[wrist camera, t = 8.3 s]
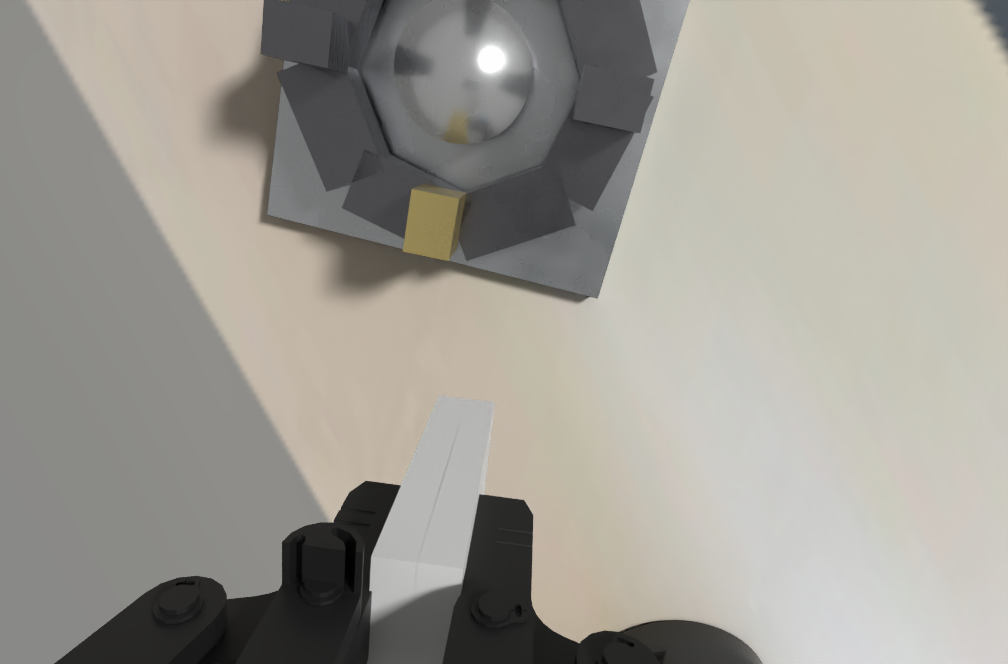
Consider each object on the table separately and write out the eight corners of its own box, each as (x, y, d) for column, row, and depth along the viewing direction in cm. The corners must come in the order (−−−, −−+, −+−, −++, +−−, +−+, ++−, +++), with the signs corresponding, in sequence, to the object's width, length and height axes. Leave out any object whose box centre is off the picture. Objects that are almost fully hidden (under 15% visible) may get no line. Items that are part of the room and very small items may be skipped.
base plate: (596, 294, 38) (602, 315, 34) (274, 212, 37) (239, 222, 33) (711, -83, 31) (738, -116, 27) (319, -187, 31) (283, -239, 26)
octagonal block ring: (380, 282, 37) (353, 307, 32) (247, -40, 32) (189, -74, 26) (675, 185, 34) (700, 195, 29) (583, -189, 29) (592, -260, 23)
